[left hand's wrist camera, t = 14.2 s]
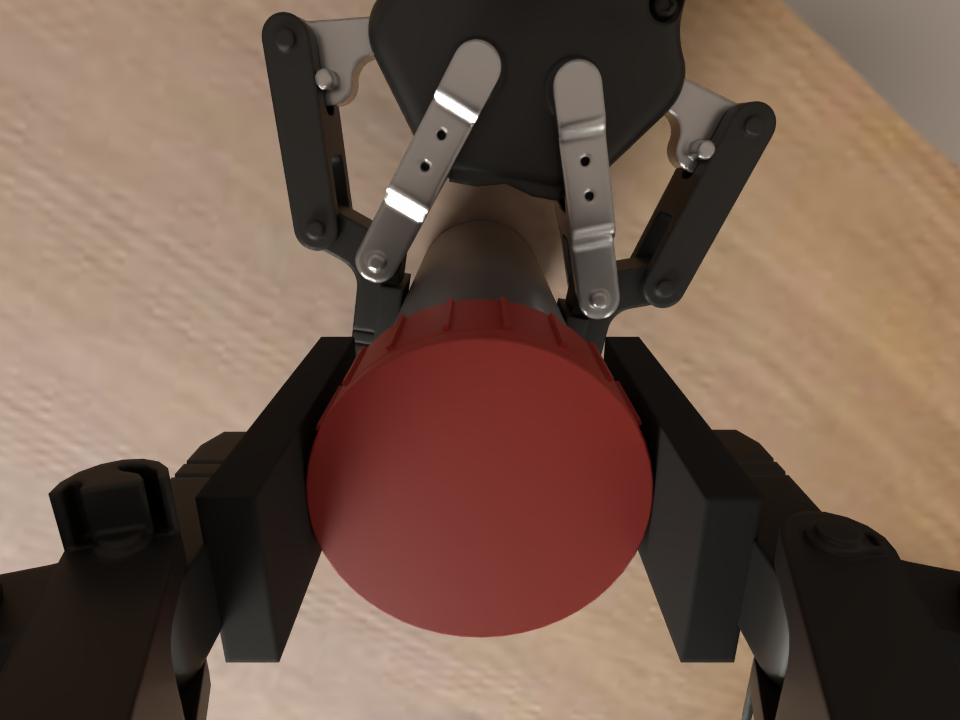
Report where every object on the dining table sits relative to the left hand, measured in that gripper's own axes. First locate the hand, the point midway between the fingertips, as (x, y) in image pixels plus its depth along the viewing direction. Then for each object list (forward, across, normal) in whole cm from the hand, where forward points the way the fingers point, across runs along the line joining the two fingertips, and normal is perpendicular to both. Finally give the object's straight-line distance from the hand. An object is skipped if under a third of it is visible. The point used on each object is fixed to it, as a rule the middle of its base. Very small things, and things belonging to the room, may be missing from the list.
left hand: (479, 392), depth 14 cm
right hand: (+5, 0, -3) cm, 6 cm away
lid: (-4, 0, 0) cm, 4 cm away
